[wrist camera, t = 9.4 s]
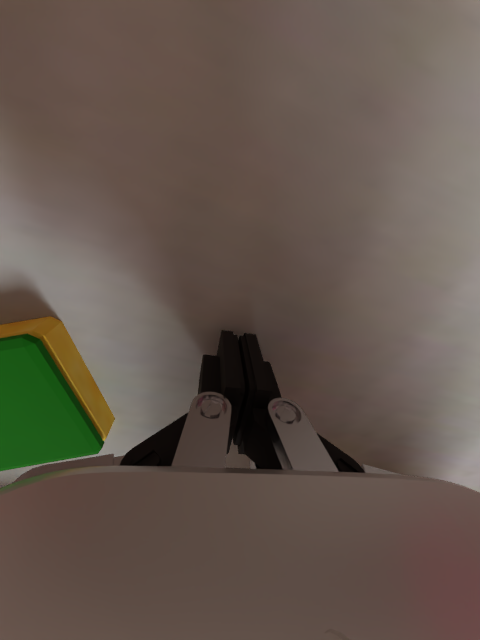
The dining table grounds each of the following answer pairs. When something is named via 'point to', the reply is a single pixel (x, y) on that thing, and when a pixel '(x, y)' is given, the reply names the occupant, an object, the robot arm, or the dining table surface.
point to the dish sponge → (47, 397)
